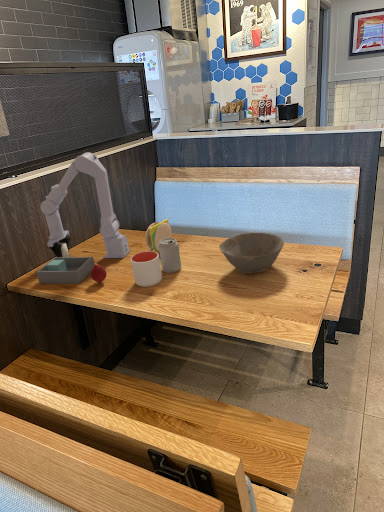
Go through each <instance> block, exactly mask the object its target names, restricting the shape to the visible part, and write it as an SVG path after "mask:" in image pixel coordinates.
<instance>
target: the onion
mask: <svg viewBox="0 0 384 512" xmlns="http://www.w3.org/2000/svg"><path fill="white" fill-rule="evenodd" d="M94 263H95V262H94ZM89 275H90V278H91V280H92V281H94V282H95V283H99V284H100V283H102V282H104V280H106V277H107V276H108V275H107V270H106V269H105V267H104V266H102V265H100V264H98V263H95V266H94V267H93V268H92V270H91V272H90V274H89Z"/></svg>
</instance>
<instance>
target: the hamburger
mask: <svg viewBox="0 0 384 512" xmlns="http://www.w3.org/2000/svg"><path fill="white" fill-rule="evenodd" d="M172 234H173V233H172V228H171V225H170V223H169V219H168V218H166V219H164V220H162V221H161V222H153V223H151V224H150V225H149V226H148V228H146V231H145V236H144V237H145V238H144V239H145V244H146V246H147V247H148V248H149V250H148V251H153V252H156V253H158V254H160V253H159V247H158V246H159V244H160V243H159V242H160V241H161V240H162V239H166V238H172Z"/></svg>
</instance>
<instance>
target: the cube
mask: <svg viewBox="0 0 384 512" xmlns="http://www.w3.org/2000/svg"><path fill="white" fill-rule="evenodd" d="M50 261H51V260H50ZM46 264H47V263H46ZM47 269H48V271H67V268H66V264H65V260H53V261H51V262H50V263H49V264H47Z"/></svg>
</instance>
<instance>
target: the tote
mask: <svg viewBox="0 0 384 512" xmlns="http://www.w3.org/2000/svg"><path fill="white" fill-rule="evenodd" d="M53 260H65V264H66V268H67V271H48V269H47V264H49V263H50V262H51V261H53ZM94 266H95V260H94V256H70V257H56V256H55V257H53V258H52V259H51V260H49V261H48V262H47V263H45V264H44V265H43V266H41V267H40V268H39V269H38V270H36V271H35V274H36V276H37V281H38V284H49V285H50V284H52V285H55V284H57V285H58V284H59V285H60V284H63V285H65V284H69V285H71V284H76V285H77V284H79V285H80V284H81V283H82V282H83V281H84V280H85V279H86V278H87V277H88V276H89V275H90V272H91V270H92V268H93V267H94Z"/></svg>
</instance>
